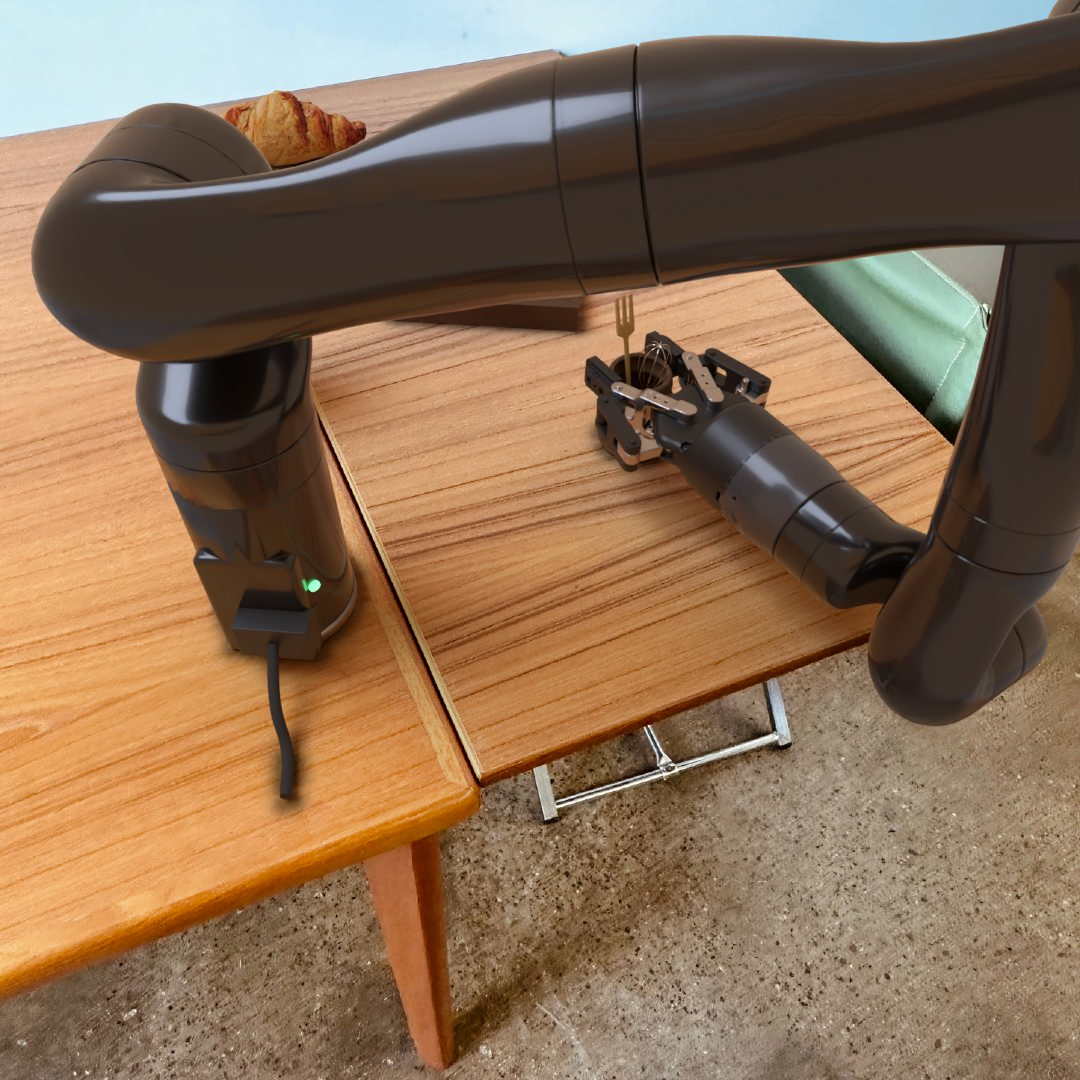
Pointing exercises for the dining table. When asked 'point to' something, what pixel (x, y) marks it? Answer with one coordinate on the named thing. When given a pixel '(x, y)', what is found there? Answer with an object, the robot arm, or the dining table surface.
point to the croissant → (293, 128)
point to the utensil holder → (638, 362)
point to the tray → (515, 315)
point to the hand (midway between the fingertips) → (619, 354)
